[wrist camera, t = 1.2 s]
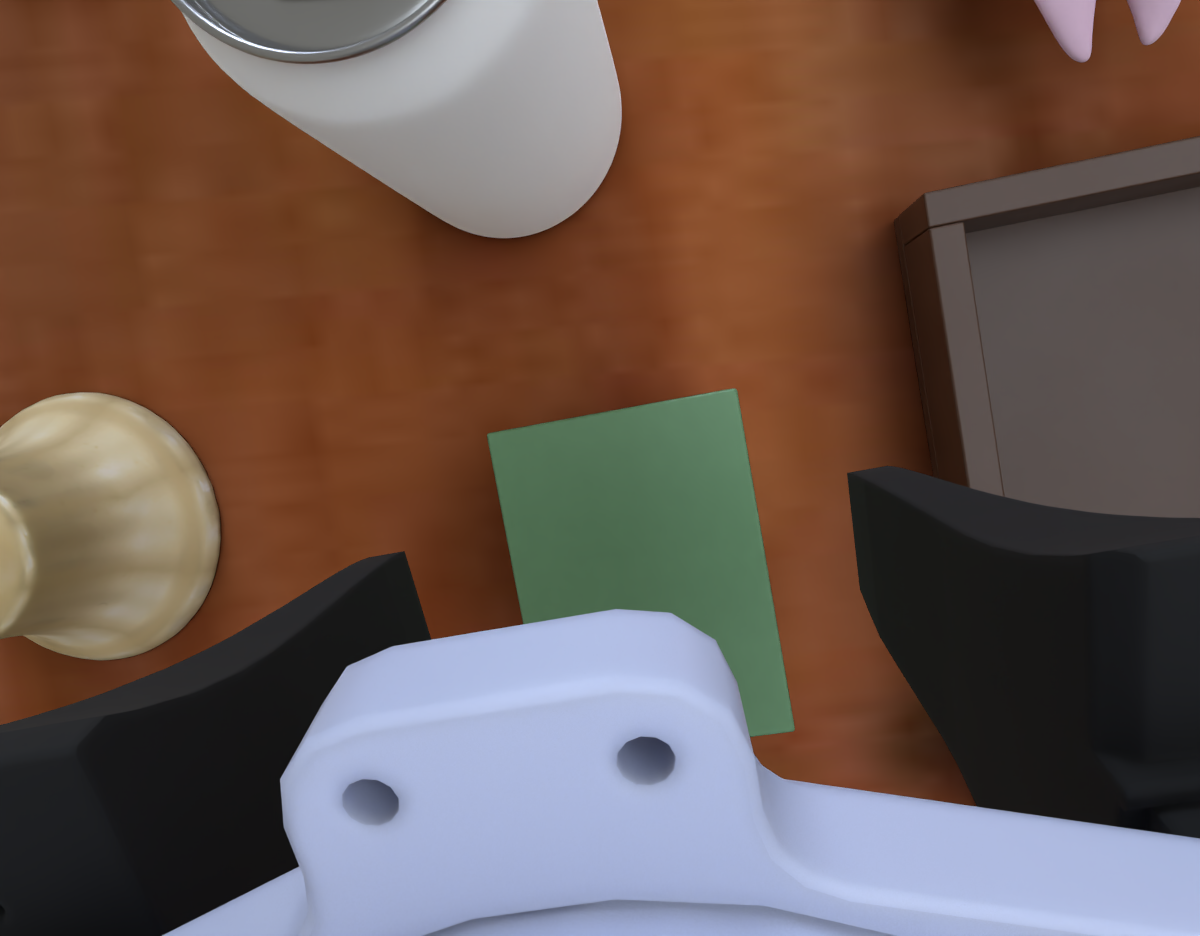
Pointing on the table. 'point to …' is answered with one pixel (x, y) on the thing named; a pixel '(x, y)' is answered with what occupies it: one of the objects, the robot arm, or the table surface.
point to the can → (437, 96)
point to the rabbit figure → (1072, 16)
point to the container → (648, 530)
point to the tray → (1063, 331)
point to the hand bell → (101, 527)
